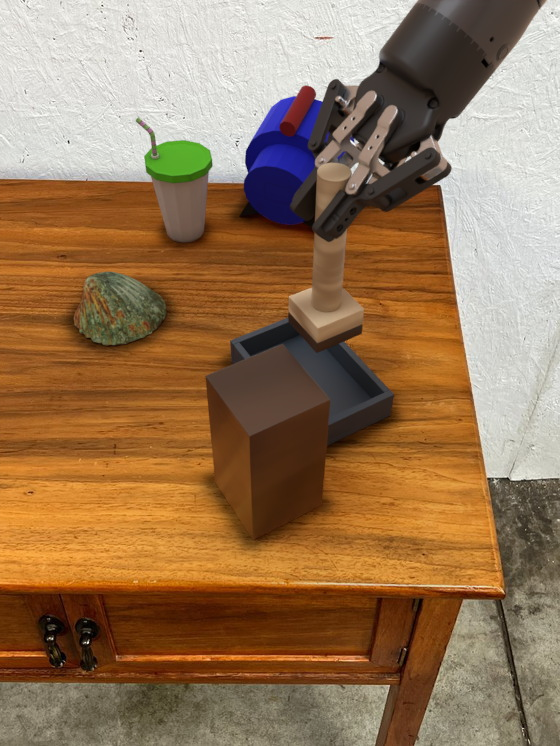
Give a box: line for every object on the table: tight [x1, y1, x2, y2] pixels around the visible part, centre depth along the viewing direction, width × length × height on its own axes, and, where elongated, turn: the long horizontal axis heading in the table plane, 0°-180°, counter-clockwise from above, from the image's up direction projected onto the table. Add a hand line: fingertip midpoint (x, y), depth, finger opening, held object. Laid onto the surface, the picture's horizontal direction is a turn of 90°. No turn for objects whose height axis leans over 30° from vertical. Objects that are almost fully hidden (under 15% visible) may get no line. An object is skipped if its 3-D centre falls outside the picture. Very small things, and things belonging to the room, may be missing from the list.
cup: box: [135, 116, 213, 244], centre depth 91 cm, size 8×8×15 cm
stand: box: [205, 344, 330, 541], centre depth 64 cm, size 7×7×14 cm
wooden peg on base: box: [287, 163, 365, 353], centre depth 64 cm, size 5×5×16 cm
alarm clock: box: [239, 85, 356, 229], centre depth 94 cm, size 12×12×15 cm
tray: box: [229, 317, 395, 447], centre depth 77 cm, size 14×10×3 cm
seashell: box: [73, 271, 168, 347], centre depth 84 cm, size 10×4×10 cm
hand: (309, 224), depth 60 cm, fingers closed on wooden peg on base, 2 cm apart
